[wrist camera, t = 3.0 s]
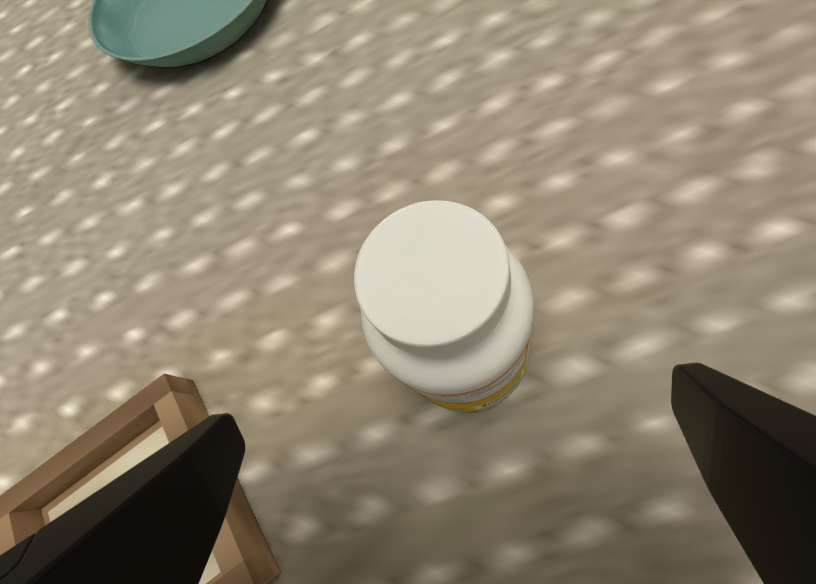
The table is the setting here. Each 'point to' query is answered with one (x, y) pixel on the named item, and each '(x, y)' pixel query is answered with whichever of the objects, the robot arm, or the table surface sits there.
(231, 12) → the saucer
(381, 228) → the supplement bottle
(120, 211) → the table surface
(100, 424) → the tray
